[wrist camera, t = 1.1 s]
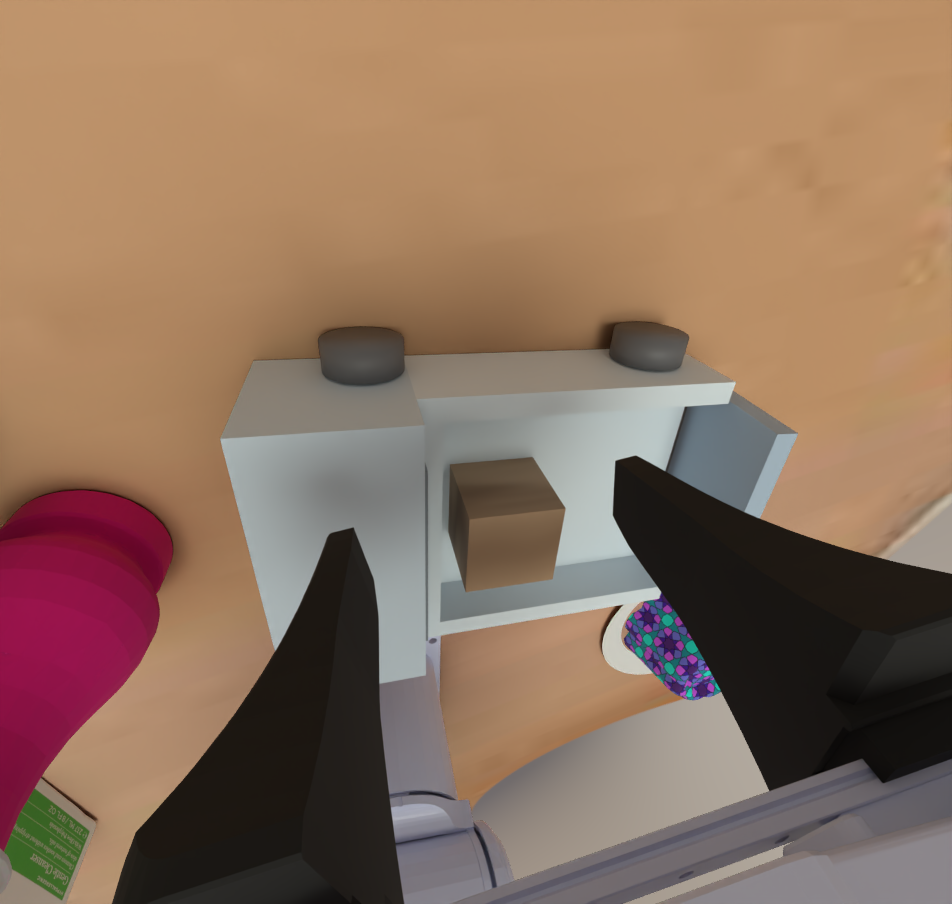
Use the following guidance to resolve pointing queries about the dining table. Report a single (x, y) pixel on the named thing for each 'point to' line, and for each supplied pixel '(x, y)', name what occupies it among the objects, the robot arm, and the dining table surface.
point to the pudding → (658, 649)
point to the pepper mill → (69, 626)
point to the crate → (503, 523)
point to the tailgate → (731, 452)
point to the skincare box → (46, 848)
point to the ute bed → (428, 469)
